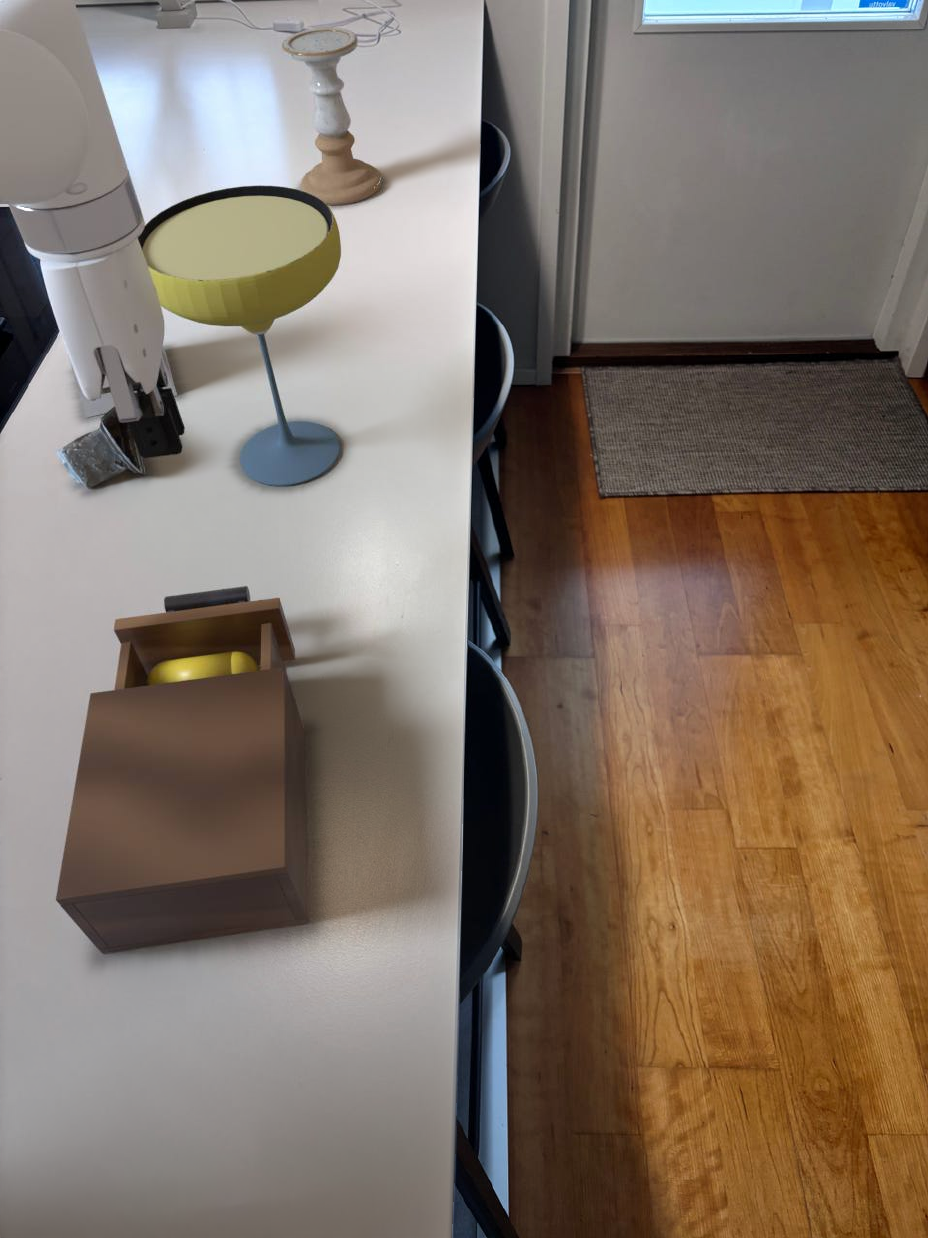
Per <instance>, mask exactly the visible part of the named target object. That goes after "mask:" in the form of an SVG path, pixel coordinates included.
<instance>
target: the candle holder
mask: <svg viewBox="0 0 928 1238" xmlns="http://www.w3.org/2000/svg"><path fill="white" fill-rule="evenodd" d="M358 45H359V39H358V36H357V35H356V33H355V32H353V31H352V30H350V29H346V28H340V27H318V28H311V29H306V30H302V31H299V32H297V33H296V32H295V33H293V34H291V35H290V36H288V37H287V38H285V39H284V40H283V42H282V44H281V49H282V52H283V55H284V56H286V57H287V58H289V59H290V60H295V61H299V62H303V63H304V64H305V65H306V67H308V68H309V69H310V71H311V74H312V79H311V81H310V82H309V84H308V90H309V92H310V93H311V94H313V96H314V107H313V118H312V125H313V126H312V127H313V128H314V130H315V132H317V133H318V135H317V137H316V138H315V140H314V144H315V147H316V148H317V149H318V150H319V151H320V153H321V162H319V163H318V164H316V165H314V167H312V168H311V170H309V171H308V172H307V173H305V174H304V175H303V177H302V178H301V181H300V190H301V191H304V192H307V193H309V194H312V195H314V196H316V197H318V198H319V199H321V200H322V201H324V202H325V203H326V204H327V205H328V206H340V205H349V204H353V203H358V202H360V201H363V200H365V199H368V198H370V197H372V196H373V195H375V194H376V193H377V192H378V191H379V189H380V188H381V186H382V179H381V180H380V177H381V178H382V176H381V173H380V171H379V170H378V168H376V167H375V166H373V165H371V164H369V163H366V162H365V161H363V160H361V159H357V158H354V155H353V152H352V147H353V145H354V144H355V142H356V141H355V140H356V138H355V136H354V134H353V133H351V132H350V130H349V129H350V127H351V124H352V119H351V116H350V113H349V112H348V109H347V106H346V104H345V101H344V99H343V95H342V91H343V90H344V87H345V82H344V80H343V79H342V78H340V77H339V75H338V73H337V67H338V64H339V63H340V61H341V59H342V57H345V56H347V55H349V54H351V53H352V52H354V51H355V50H356V49H357V48H358ZM379 181H380V183H379ZM378 183H379V184H378ZM377 184H378V185H377ZM301 187H302V189H301ZM374 187H375V188H374Z"/></svg>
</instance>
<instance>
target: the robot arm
mask: <svg viewBox="0 0 928 1238" xmlns="http://www.w3.org/2000/svg"><path fill="white" fill-rule="evenodd" d="M86 35H87V34H86V32H85V29H84V25H83V23H82V20H81V17H80V14H79V11H78V8H77V6H76V3H75V0H0V205H8V207H9V210H10V212H11V214H12V217H13V219H14V222H15V224H16V226H17V229H18V231H19V233H20V235H21V238H22V239H23V243H24V246H25V248H26V251H28V253H29V254H30V255H31V256H33V257H34V258H36V259H38V260H39V261H40V262H39V263H40V269H41V273H42V278H43V281H44V285H45V289H46V292H47V297H48V299H49V303H50V306H51V309H52V312H53V316H54V319H55V321H56V325H57V327H58V328H57V329H58V330H59V333H60V337H61V339H62V342H63V344H64V347H65V350H66V352H67V356H68V355H69V356H68V359H69V358H70V360H69V362H70V361H71V363H72V366H73V369H74V371H75V374H76V377H77V379H78V382H79V385H80V387H81V390H82V392H83V394H84V396H85V397H86V398H87V399H88V400H90V401H95V400H96V399H101V394H103V390H104V388H103V385H104V381H105V376H107V379H108V383H109V387H108V388H109V390H110V392H111V394H112V397H113V401H114V405H115V408H116V412H117V416H118V419H119V421H120V423H123V422H127V424H128V426H129V429H130V431H131V434H132V436H133V439H134V441H135V444H136V446H137V449H138V451H139V454H140V456H141V457H142V459H151V458H158V457H167V456H175V455H180V454H182V452H183V443H182V440H181V437H180V436H182V435H184V434H185V423H184V421H183V418H182V416H181V413H180V410H179V407H178V403H177V401H176V398H175V396H174V395H173V392H172V389H171V388H168V389H163V387H168V377H167V374H166V371H165V368H164V365H163V362H162V359H161V355H162V356H163V353H162V348H163V347H164V341H165V331H166V330H165V317H164V313H163V309H162V306H161V305H160V301H159V298H158V295H157V291H156V288H155V285H154V282H153V279H152V276H151V273H150V271H149V268H148V265H147V262H146V259H145V257H144V254H143V251H142V249H141V246H140V243H139V241H138V238H137V237H138V236H140V235H141V233H142V232H143V230H144V226H145V225H146V222H145V218H144V215H143V211H142V208H141V205H140V202H139V198H138V196H137V191H136V189H135V186H134V183H133V179H132V177H131V173H130V170H129V168H128V164H127V161H126V158H125V155H124V153H123V149H122V145H121V143H120V140H119V139H120V138H119V136H118V132H117V129H116V126H115V124H114V123H115V122H114V120H113V118H112V114H111V110H110V107H109V105H108V101H107V98H106V96H105V92H104V89H103V86H102V82H101V79H100V76H99V73H98V70H97V67H96V63H95V61H94V57H93V54H92V51H91V48H90V45H89V42H88V39H87V36H86ZM71 363H70V364H71ZM72 366H71V367H72ZM134 391H137V392H135V393H134Z"/></svg>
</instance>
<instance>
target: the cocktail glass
mask: <svg viewBox="0 0 928 1238" xmlns="http://www.w3.org/2000/svg"><path fill="white" fill-rule="evenodd" d="M137 238H138V241H139V243H140V246H141V249H142V251H143V254H144V257H145V259H146V262H147V265H148V268H149V271H150V273H151V276H152V279H153V282H154V285H155V288H156V291H157V295H158V298H159V301H160V305H161V308H163V309H165V310H166V311H168V312H170V313H171V314H174V315H176V316H178V317H180V318H183V319H186V320H188V321H191V322H194V323H198V324H203V325H208V326H217V327H241V328H243V329H244V330H245V331H247V332H248V333H250V334H252V335H257V338H258V341H259V347H260V350H261V355H262V358H263V362H264V366H265V370H266V373H267V378H268V383H269V387H270V392H271V395H272V399H273V403H274V408H275V413H276V418H277V424H273V425H270V426H268V427H266V428H264V429H262V430H260V431H259V432H257V433H255V434H254V435H253V436H252V437H251V438H249V439H248V440H247V441H246V442H245V444H244V445H243V446H242V448H241V452H240V454H239V465H240V467H241V469H242V471H243V472H244V474H245V475H246V476H247V477H248V478H249V479H251V480H252V481H254V482H257V483H259V484H262V485H266V486H271V487H272V486H273V487H290V486H295V485H296V486H297V485H300V484H304V483H308V482H310V481H312V480H315V479H317V478H319V477H320V476H322V475H323V474H325V473H326V472H327V471H329V470H330V469H331V468H332V466H333V465H334V464H335V463H336V462H337V460H338V457H339V455H340V451H341V446H340V445H341V444H340V440H339V438H338V436H337V435H336V433H334V431H332V430H331V429H330V428H328V427H327V426H325V425H322V424H320V423H317V422H313V421H303V420H295V421H294V420H293V421H287V419H286V415H285V412H284V409H283V405H282V401H281V397H280V394H279V393H280V392H279V390H278V385H277V381H276V378H275V373H274V369H273V366H272V361H271V357H270V353H269V349H268V345H267V341H266V336H265V333H267V332H268V331H269V330H271V327H272V326H273V324H274V321H275V320H277V319H279V318H283V317H285V316H287V315H289V314H292V313H293V312H296V311H297V310H299V309H301V308H302V307H304V306H306V305H307V304H309V303H311V302H312V301H313V300H314V299H315V298H317V296H319V295H320V294H321V293H322V292H323V291H324V290H325V289H326V287H327V286H328V285H329V283H331V281H332V280H333V279H334V277H335V275H336V273H337V272H338V269H339V266H340V261H341V257H342V243H341V242H342V241H341V234H340V229H339V226H338V222H337V219H336V217H335V215H334V212H333V211H332V209H331V208H330V206H329V205H327V204H326V203H325V202H324V201H322V200H321V199H319V198H318V197H316V196H314V195H312V194H309V193H307V192H304V191H301V189H298V188H292V187H287V186H280V185H243V186H234V187H229V188H228V187H227V188H222V189H217V190H212V191H209V192H205V193H202V194H198V195H194V196H192V197H189V198H186V199H183V200H181V201H179V202H177V203H174V204H173V205H171V206H169V207H167V208H165V209H163V210H162V211H160V212H159V213H157V214H156V215H155V216H154V217H152V218H150V220H149V221H147V222H146V223H145V226H144V230H143V232H142V233H141V235H140V236H138V237H137Z"/></svg>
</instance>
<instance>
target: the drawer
mask: <svg viewBox="0 0 928 1238" xmlns="http://www.w3.org/2000/svg"><path fill="white" fill-rule="evenodd" d="M163 603H164V604H163V605H164V606H163V607H164V611H165V612H159V613H152V614H143V615H137V616H130V617H122V618H121V617H120V618H116V619H114V625H113V632H114V634H115V635H116V638H117V640H118V641H119V643H120V649H119V656H118V662H117V669H116V677H115V683H114V689H113V690H119V689H126V688H133V687H141V686H147V678H148V675H149V673H150V671H151V670H152V669H153V668H154V667H155V666H156V665H157V664H159V663H161V662H164V661H168V660H175V659H183V658H190V657H198V656H205V655H212V654H220V653H227V652H243V653H246V654H248V655H249V656H251V657H252V658H253V659H254V660H255V662H256V663H257V666H260V668H258V669H259V670H266V669H274V668H281V667H285V670H286V673H287V672H288V671H287V668H286V665H285V662H292V661H296V648H295V645H294V641H293V637H292V635H291V632H290V628H289V625H288V621H287V619H286V615H285V611H284V608H283V604H282V601H281V598H280V597H273V598H265V599H258V600H251V592H250V589H249V587H248V586H247V585H244V586H236V587H228V588H222V589H213V590H206V591H198V592H192V593H183V594H177V595H168V596H165V597H164V599H163ZM287 674H288V673H287Z"/></svg>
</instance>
